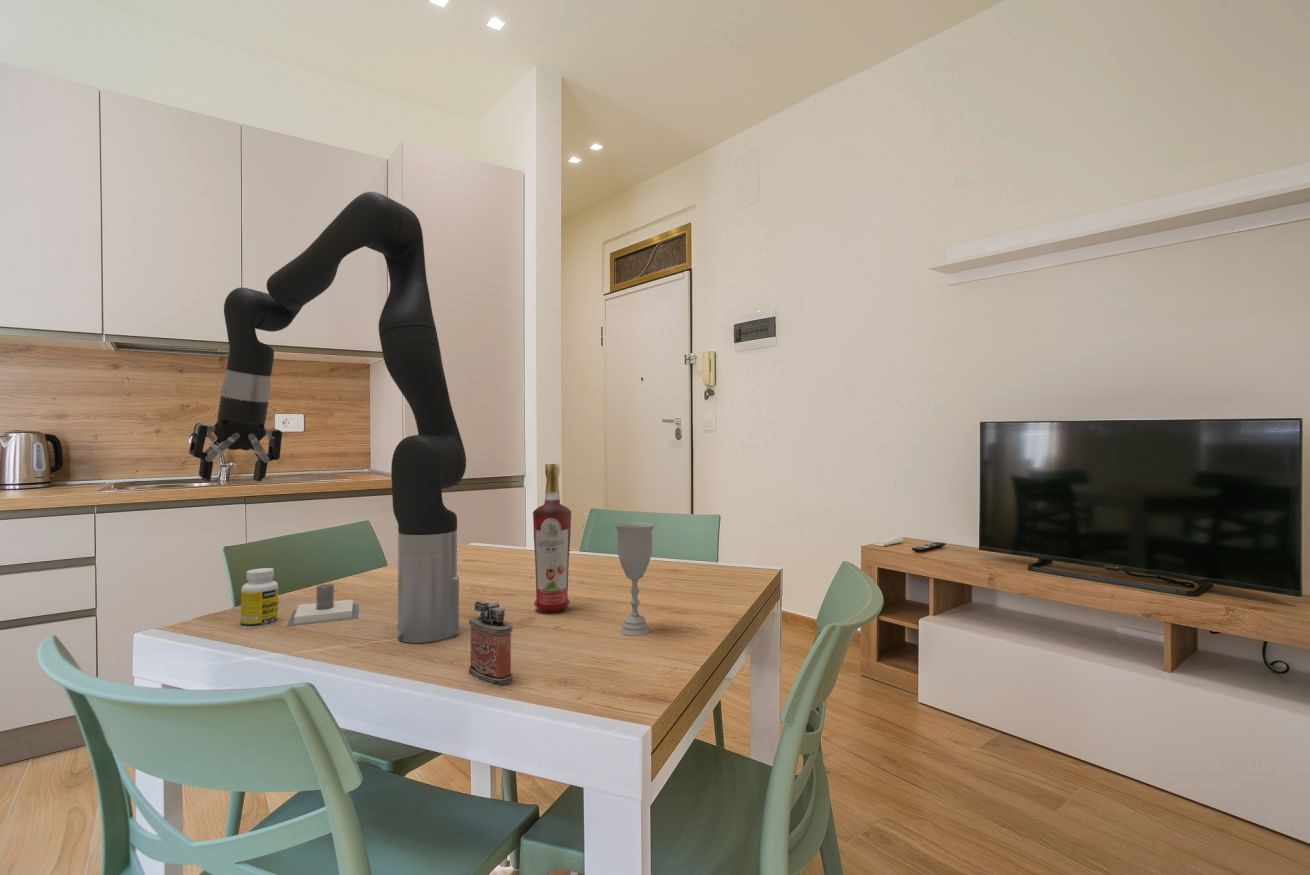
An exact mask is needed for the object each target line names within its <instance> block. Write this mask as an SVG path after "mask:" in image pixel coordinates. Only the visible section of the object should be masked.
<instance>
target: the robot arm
mask: <svg viewBox="0 0 1310 875" xmlns="http://www.w3.org/2000/svg"><path fill="white" fill-rule="evenodd" d="M424 246H425V245H424V235H423V230H422V226H421V222H420V220H419V218H418V216H417V215H416V213H415V212H414V211H413V210H412V209H411V208H408V207H407V206H406V205H403V204H401V203H399V202H398V201H396V200H395V199H392V198H390V197H388V196H387V195H384V194H382V193H379V192H376V191H366V192H363V193H361V194H359V195H358V196H356V197H355V198H353V200H351V201H350V202H349V203H348V204H347V205H346V206H345V207H344V208H343V210H341V211H340V213H338V214H337V215H336V217H335V218H334V219H333V220H332V221H331V222H330V223H329V224H328V226H326V228H324V230H323V231H322V232H321V233H320V235H318V237H316V239H315V240H314V241H313V242H312V243H311V244H310V245H309V246H308V247H307V248H306V249H305V250H303V251H302V252H301V253H300V254H298V255H297V256H296V257H295V258H294V259H292V260H290V261H289V262H288V263H286V264H285V265H283V266H282V267H281V268H279V269H277V271H275V272H274V273H272V274H271V275H270V276H269V277H268V279H267V280H266V289H267V292H268V293H267V292H263V291H260V290H256V289H253V288H247V287H237V288H234V289H233V290H232V291H230V292H229V293H228V295H226V298H225V301H224V303H223V315H224V321H225V326H226V333H227V341H228V345H229V350H228V357H227V364H226V370H225V374H224V377H223V380H222V386H221V387H220V398H219V406H218V411H217V421H216V423H215V424H214V425H209V424H207V425H206V424H204V423H203V424H202V423H201V422H198V423H195V425H194V428H193V433H192V438H191V440H190V441H191V442H190V446H189V450H188V453H189V455H191V456H192V457H194V458H198V459H199V460H200V462H199V468H198V469H199V470H198V476H199V477H200V478H201V480H202V481H204V482H211V480H212V473H213V469H214V468H213V467H214V461H213V460H214V459H215V458H216V457H217V456H218V455H220V454H222V453H223V452H225V451H226V450H227V449H228V450H230V451H237V450H241V451H251V452H252V453H253V454H254V455H255V457H256V458H257V460H255V464H254V468H253V476H252V479H253V481H255V482H262V480H263V479H265V477H266V475H267V469H268V464H269V462H272V461H274V460H275V461H278V460H280V458H281V448H282V436H283V432H282V431H281V430H279V429H277V428H275V427H273V428H270V429H266V428H265V424H266V420H267V412H268V407H269V401H270V395H271V389H272V388H271V387H272V386H271V385H272V384H271V380H272V377H271V376H272V372H273V366H274V357H275V352H274V351H275V350H274V348H272V346H270V345H268V344H266V343H263V342H262V341H260V340H259V339H258V336H257V331H256V330H259V331H265V332H271V333H272V332H273V333H274V332H279V331H282V330H285V329H287V327H289V326H290V325H291V324H292V323H293V321H294V320H295V318H296V317H297V315H298V314H299V313H300V311H302V309H303V307H304V306H305V305H306V304H308V303H309V302H311V301H312V300H314V299H315V298H317V297H319V296H320V295H321V294H323V293H324V292H325V291H327V290H328V289H329V288H330V286H331V285H332V284H333V282H334V280H335V278H336V275H337V272H338V268H339V267H340V266H339V265H340V264H341V263H342V260H343V259H345V257H347V256H348V255H349V254H351V253H353V252H355V251H358V250H359V249H362V248H368V249H370V250H373V251H375V252H378V253H381V254H382V255H383V256H384V259H385V262H386V267H387V271H388V277H389V293H388V296H387V299H386V301H385V303H384V305H383V308H382V310H381V314H380V315H379V320H378V334H379V335H378V336H379V340H380V346H381V351H382V357H383V361H384V364H385V367H386V369H387V371H388V373H389V375H390V377H391V379H392V380H393V381H394V383H395V384H396V386H397V388H398V389H399V391H400V392H401V395H403V397H404V398H405V400H406V402H407V403H408V405H409V407H410V409H411V411H412V414H413V416H414V420H415V424H416V429H417V433H418V434H415V435H408V436H407V437H405V438H403V439H401V440H400V441H399V443H398V444H397V445H396V447H395V449H394V451H393V454H392V460H391V468H390V470H391V472H390V474H391V477H390V478H391V495H392V498H391V500H392V510H393V515H394V517H395V519H396V522H397V531H398V532H397V538H398V539H397V626H396V628H397V639H398V640H399V641H401V642H405V643H415V644H416V643H417V644H419V643H429V642H431V643H432V642H437V641H440V640H441V641H442V640H445V639H449V638H452V637H455V636H459V634H460V631H459V630H460V624H459V623H460V577H459V576H458V573H457V572H458V517H457V514H456V513H455V512H454V511H452V510H450V509H448V508H447V507H446V506H445V504H444V502H443V492H442V491H443V490H444V489H450V488H452V487H455V486H457V484H460V481H462V479H463V478H464V476H465V473H466V468H467V457H466V452H465V450H466V449H465V448H464V443H463V440H462V436H461V433H460V431H459V427H458V424H457V421H456V417H455V414H454V411H453V407H452V403H451V399H450V394H449V389H448V384H447V380H446V375H445V371H444V366H443V361H442V353H441V347H440V342H439V338H438V333H437V326H436V322H435V318H434V314H433V313H434V312H433V308H432V303H431V297H430V291H429V286H428V285H429V284H428V280H427V279H428V278H427V271H426V270H427V269H426V260H425V259H426V257H425V247H424ZM212 433H213V434H214V435H215V437H216V438H215V439H214V440H213V441H212V442H211V443H210V444H209V445H208V447H207V448H206V449H205V450H204V448H205V443H206V440H207V439H206V438H207V437H210V435H211V434H212ZM265 437H266V439H267V440H268V448H267V449H268V450H267V453H266V451H265V448H264V447H263V446H262V444H261V443H260V441H262V440H263V438H265ZM442 489H443V490H442Z"/></svg>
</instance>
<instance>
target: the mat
mask: <svg viewBox="0 0 1310 875" xmlns="http://www.w3.org/2000/svg"><path fill="white" fill-rule="evenodd" d="M359 608H360V604H359V603H353V612H352V618H343V619H334V620H325V621H316V622H307V623H298V624H294V616H295V613H296V611H297V609H294V610H292V612H291V615H290V617H289V620H288V622H287V624H286V627H287V628H288V627H296V626H305V625H313V624H322V623H330V622H338V621H339V622H340V621H341V622H342V621H347V620H358V619H359Z"/></svg>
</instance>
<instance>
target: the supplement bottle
mask: <svg viewBox="0 0 1310 875" xmlns="http://www.w3.org/2000/svg"><path fill="white" fill-rule="evenodd" d="M274 576H275V569H274V568H272V567H271V568H270V567H263V568H262V567H261V568H254V569H249V570H247V571H246V581H247V582H245V583H244V584H242V586H241V590H240V592H241V593H240V627H241V628H245V629H247V628H251V629H252V628H261V627H266V626H270V625H274V624H276V623H277V622H278V616H279V615H278V612H279V611H278V610H279V609H278V608H279V601H278V600H279V584H278V582H277V581H275V580H273V579H274Z"/></svg>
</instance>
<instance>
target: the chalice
mask: <svg viewBox="0 0 1310 875" xmlns="http://www.w3.org/2000/svg"><path fill="white" fill-rule="evenodd" d="M655 524H656V523H655ZM655 524H654V523H651V522H642V521H641V522H639V521H638V522H637V521H636V522H635V521H634V522H633V521H632V522H630V521H629V522H619V523H616V524H614V526H615V529H616V531H617V556H618V559H619V562H620V566H621V567H622V570H623V572H624V574H625V576H626V578H627V579H629V580H631V584H632V585H631V589H630V593H631V600H630V601H629V604H630V605H631V608H632V609H631V613H629V615H627V616H626V617H625V619H624V620H623V623H622V624H621V625H622V627H621V628H620V630H619V632H620V633H621V634H623V635H627V636H642V635H646V634H648V633H650V628H649V626H648V623H647V622H646V621H647V620H646V618H645V617H644V616H643V615H640V612H638V606H639V604H640V602H641V601H640V600H639V598H638V596H639V593H640V589H639V587H638V582H639V580H640V579H642V578H643V577H644V575H645V573H646V571H647V569H648V566H649V564H650V560H651V557H652V555H653V530H654V528H655Z"/></svg>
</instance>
